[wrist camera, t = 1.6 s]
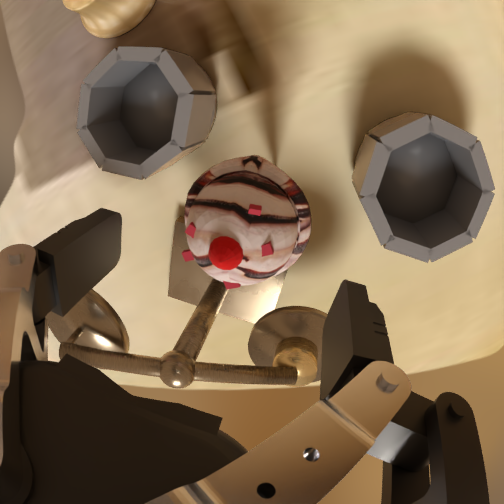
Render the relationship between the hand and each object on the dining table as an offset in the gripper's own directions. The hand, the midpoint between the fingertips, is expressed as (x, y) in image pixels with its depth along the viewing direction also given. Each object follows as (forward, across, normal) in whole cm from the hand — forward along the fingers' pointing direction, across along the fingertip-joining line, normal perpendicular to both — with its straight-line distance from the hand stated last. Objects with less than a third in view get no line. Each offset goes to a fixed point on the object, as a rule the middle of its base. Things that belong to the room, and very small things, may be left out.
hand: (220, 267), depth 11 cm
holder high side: (+15, +10, -3) cm, 18 cm away
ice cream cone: (+15, 0, 0) cm, 15 cm away
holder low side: (+15, -10, -3) cm, 18 cm away
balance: (+15, +2, +10) cm, 18 cm away
